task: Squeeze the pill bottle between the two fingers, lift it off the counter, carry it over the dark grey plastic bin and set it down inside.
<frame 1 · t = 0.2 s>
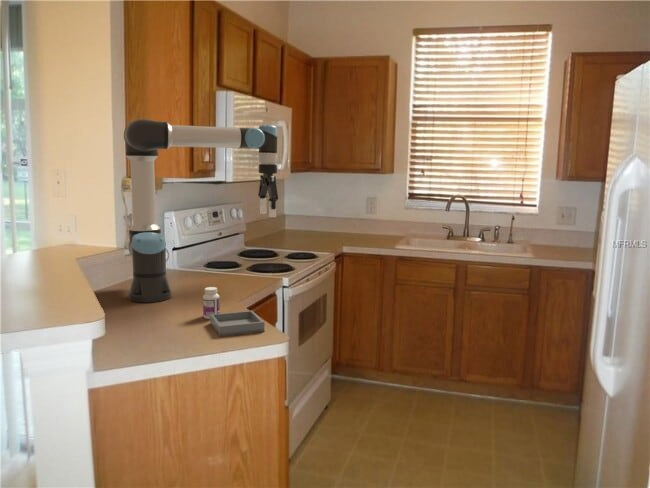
hand: (267, 215, 233), 28 cm above the table, fingers open, 13 cm apart
pill bottle: (211, 317, 184), on the table
bin: (236, 327, 173), on the table
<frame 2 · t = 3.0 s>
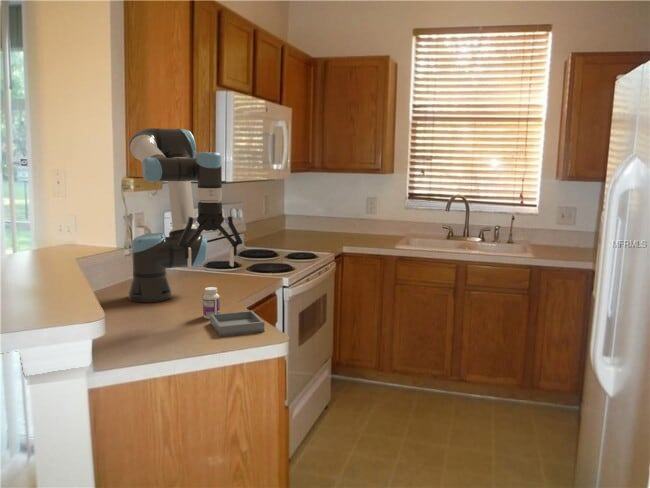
hand: (210, 267, 181), 17 cm above the table, fingers open, 13 cm apart
nothing on the table moved.
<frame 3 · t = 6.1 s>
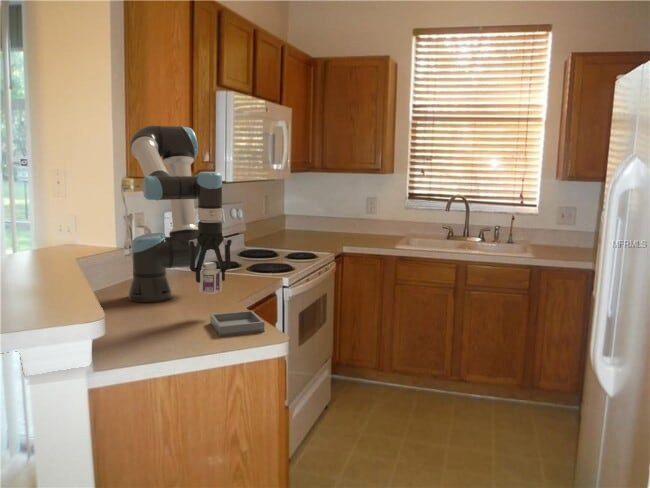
hand: (210, 291, 183), 9 cm above the table, fingers closed on pill bottle, 5 cm apart
pill bottle: (210, 292, 183), point 8 cm above the table, touching gripper
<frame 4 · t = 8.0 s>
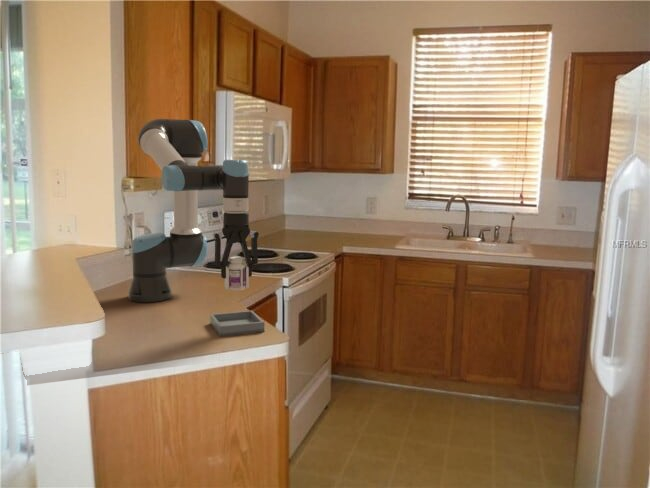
hand: (236, 287, 171), 13 cm above the table, fingers closed on pill bottle, 5 cm apart
pill bottle: (236, 289, 171), point 12 cm above the table, touching gripper
when the fingers open (3 cm above the table, at t = 9.9 s): pill bottle drops 2 cm, resting on bin.
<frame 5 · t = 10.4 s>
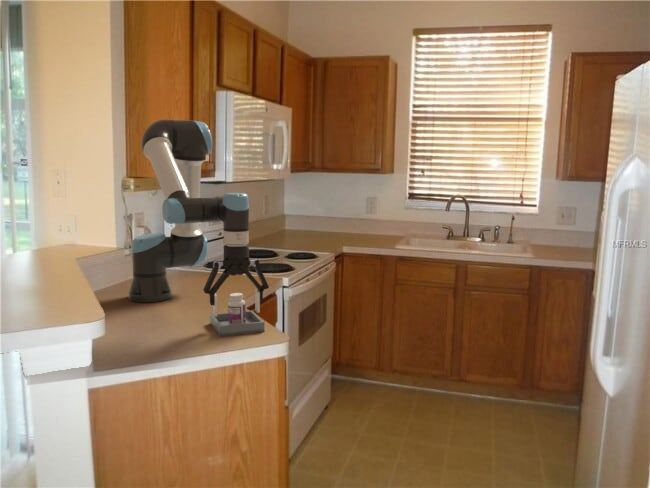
hand: (236, 313, 173), 5 cm above the table, fingers open, 12 cm apart
pill bottle: (237, 325, 173), point 1 cm above the table, touching bin
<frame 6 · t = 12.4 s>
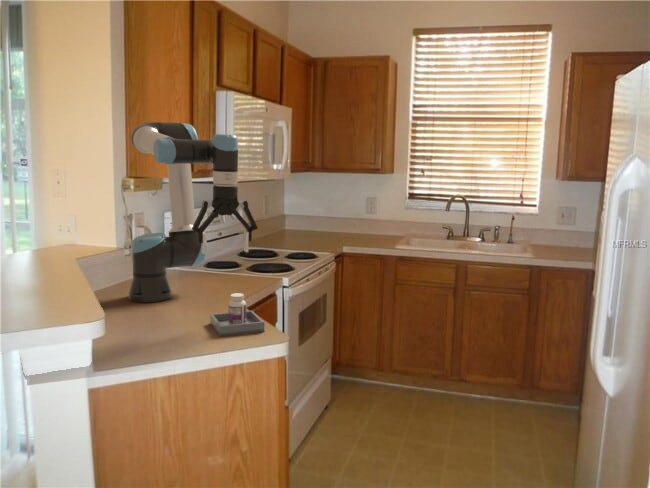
hand: (225, 252, 177), 22 cm above the table, fingers open, 13 cm apart
nothing on the table moved.
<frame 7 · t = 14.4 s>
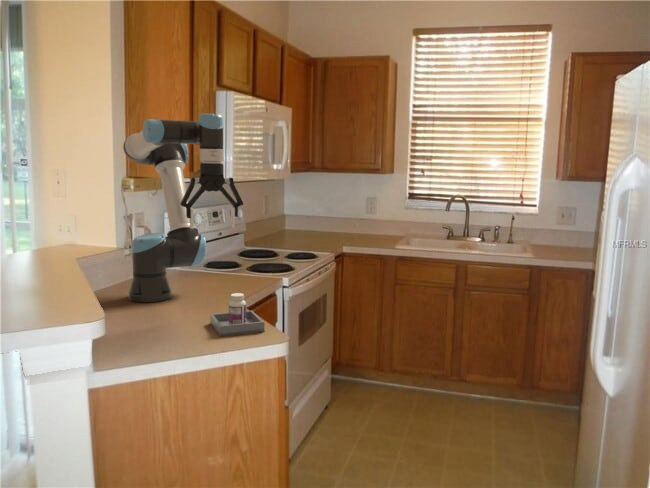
hand: (212, 227, 186), 29 cm above the table, fingers open, 13 cm apart
nothing on the table moved.
at the end: pill bottle inside the target area on the bin (0.2 cm from its centre), point 0.6 cm above the bin's base; the gripper is holding nothing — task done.
